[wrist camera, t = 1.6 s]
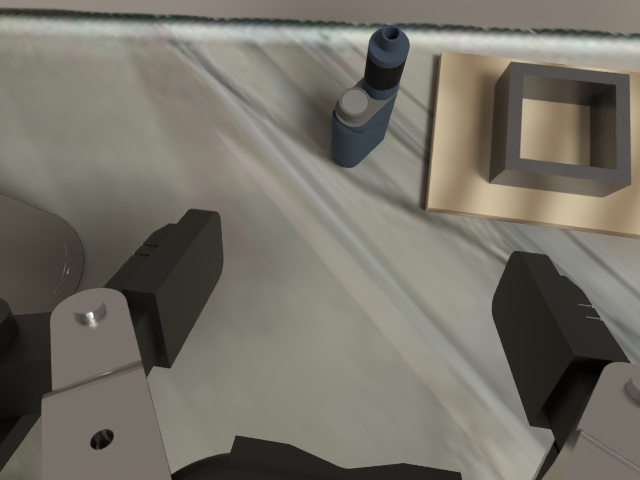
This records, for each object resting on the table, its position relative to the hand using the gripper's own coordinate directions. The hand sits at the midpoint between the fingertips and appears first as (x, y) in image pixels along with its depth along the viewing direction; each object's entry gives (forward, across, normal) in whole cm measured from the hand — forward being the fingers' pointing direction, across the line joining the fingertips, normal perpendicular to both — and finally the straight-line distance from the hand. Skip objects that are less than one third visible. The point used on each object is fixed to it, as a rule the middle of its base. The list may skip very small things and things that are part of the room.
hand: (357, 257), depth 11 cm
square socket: (+25, -15, +4) cm, 29 cm away
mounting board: (+25, -15, +4) cm, 29 cm away
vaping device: (+24, 0, +5) cm, 24 cm away
